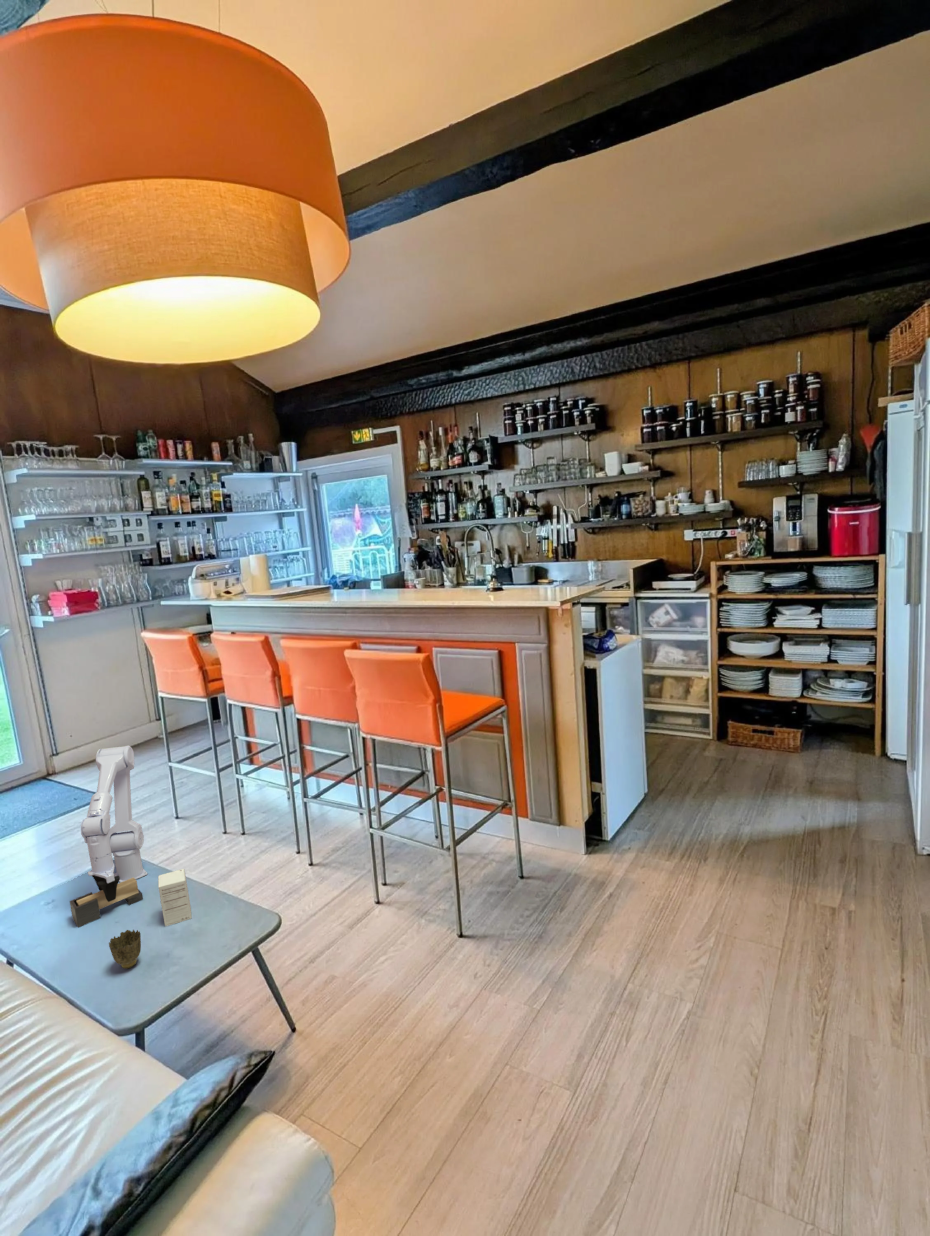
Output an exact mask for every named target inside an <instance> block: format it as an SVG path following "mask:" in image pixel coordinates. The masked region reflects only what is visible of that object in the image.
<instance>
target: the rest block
mask: <svg viewBox="0 0 930 1236" xmlns="http://www.w3.org/2000/svg"><path fill="white" fill-rule="evenodd" d="M138 892H139V893H136V894H134V895H132V896H129V897H127V898H125V899H124V901H125V902H126V903H127V904H128V905H129V906H130V905H134V904H136V903H138V902H141V901H143V900H144V894H143V892H141V890H140V889H139V888H138Z"/></svg>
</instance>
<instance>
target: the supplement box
mask: <svg viewBox="0 0 930 1236" xmlns="http://www.w3.org/2000/svg"><path fill="white" fill-rule="evenodd" d="M157 879H158V880H157V885H158V892H159V898H160V904H161V909H162V917H163V922H164V927H169V926H172V925H175V924H178V923H182V922H185V921H188V920H191V919H192V906H191V902H190V895H189V890H188V889H189V888H188V883H187V877H186V870H185V868H181V869H177V870H173V871H169V872H167V873H163V874H159V875H158V877H157Z"/></svg>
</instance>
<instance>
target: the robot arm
mask: <svg viewBox="0 0 930 1236" xmlns="http://www.w3.org/2000/svg"><path fill="white" fill-rule="evenodd" d="M95 763H96V766H97V767H96V768H97V769H98V771H99V773H98V779H97V780H98V781H97V786H96V787H97V789H96V792H95V793H94V794H93V795H91V798H90V802H89V807H88V811H87V814H86V817H85V818H84V819H82V821H81V824H80V834H81V837H82V838H83V840H84V843H85V844H87V850H88V855H89V862H90V866H91V870H89V871H87V875H88V877H92V878H93V879H94V882H95V884H96V885H97V886H96V887H97V888H98V891H101V890H103V892H104V894H105V897H106V899H107V901H108V902H110V901H112V900H115V899H116V890H117V885H118V884H119V883H121V882H123V881H126V880H128V879H131V878H133V877H134V878H135V880H136V881H137V879H138V880H139V879H140V878H143V877H146V876H147V875H148V872H147V871H146V870H145V869H144V868H143V867H144V866H143V863H142V856H141V851H140V850H141V849H142V847H143V846H144V840H145V838H144V837H145V835H144V832H143V826H142V825H141V824H140V823H138V822H137V821H134V820H133V812H132V811H133V810H132V796H131V795H132V793H131V790H132V789H131V770H134V769H135V752H134V749H133V748H132V746H130V745H124V746H116V747H115V746H114V747H107V748H103V747H102V748H99V749H98V750H97V752H96V754H95ZM112 787H113V796H112V795H111V794H110V793H111V790H112ZM113 797H114V800H113ZM113 801H114V802H113ZM112 802H113V803H114V819H115V821H114V822H115V824H114V825H113V826H111V815H110V811H111V808H112V807H111V806H112ZM115 871H116V872H115Z"/></svg>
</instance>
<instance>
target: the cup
mask: <svg viewBox="0 0 930 1236" xmlns="http://www.w3.org/2000/svg"><path fill="white" fill-rule="evenodd" d="M141 938H142V937H141V932H140V931H139V930H138V929H137V930H136V931H135V929H132V930H129V929H126V930H125V931H121V932H120V933H119V936H117V937H116V936H115V935H114V936H113V937H111V938H110V941H109V942H108V947H109V950H110V954H111V956H112V958H113V960H114V961H115V963H117V964H118V965H120V967H121V968H122V969H124V970H128V969H132V968H133V967H134V966H136V964H137V959H138V957H139V956H140V954H141V952H142V951H141V948H142V942H141V941H142V940H141Z"/></svg>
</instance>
